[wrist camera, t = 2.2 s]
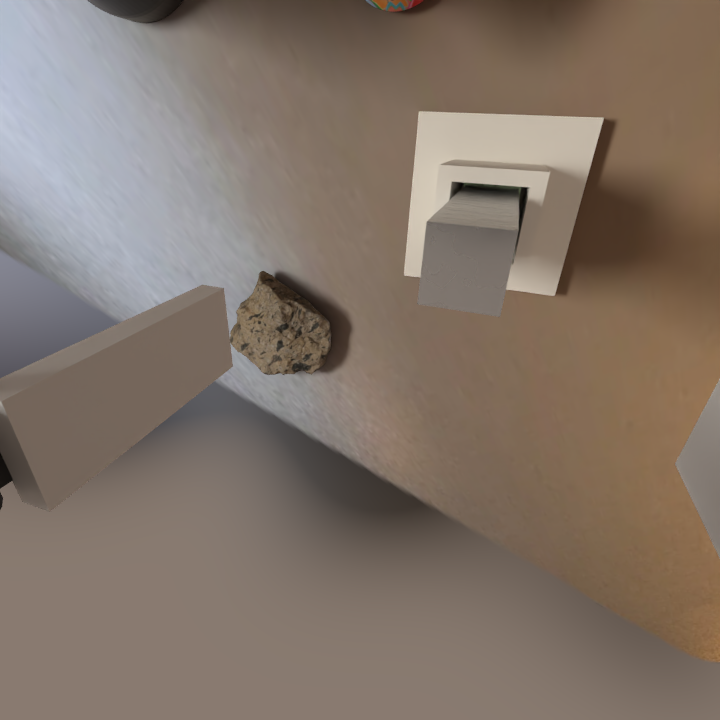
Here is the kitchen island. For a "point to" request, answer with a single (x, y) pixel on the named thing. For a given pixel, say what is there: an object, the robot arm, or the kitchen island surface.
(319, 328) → the rock
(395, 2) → the mug
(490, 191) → the column
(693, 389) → the kitchen island surface
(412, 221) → the stand
